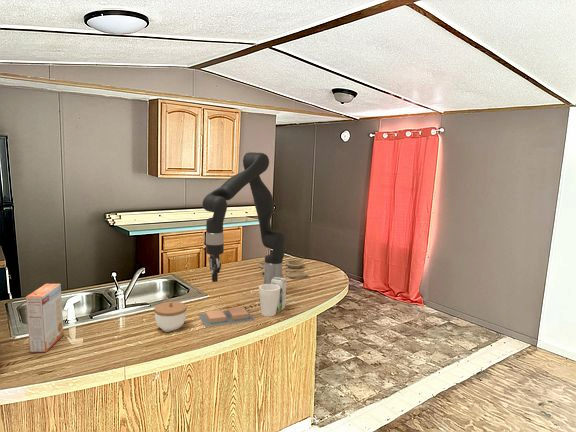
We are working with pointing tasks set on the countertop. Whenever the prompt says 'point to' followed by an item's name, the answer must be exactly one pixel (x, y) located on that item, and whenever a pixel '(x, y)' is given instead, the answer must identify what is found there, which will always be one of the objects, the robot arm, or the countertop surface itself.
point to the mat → (228, 321)
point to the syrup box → (282, 295)
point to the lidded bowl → (170, 315)
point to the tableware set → (292, 264)
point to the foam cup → (269, 299)
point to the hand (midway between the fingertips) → (214, 281)
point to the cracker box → (44, 317)
